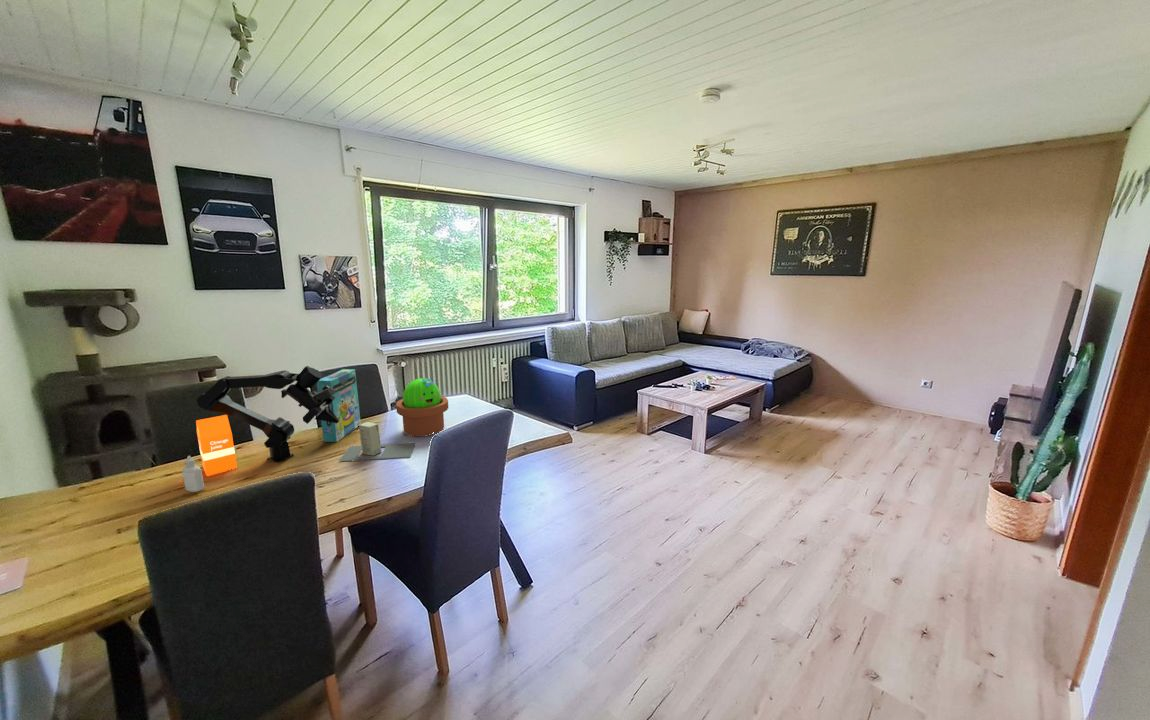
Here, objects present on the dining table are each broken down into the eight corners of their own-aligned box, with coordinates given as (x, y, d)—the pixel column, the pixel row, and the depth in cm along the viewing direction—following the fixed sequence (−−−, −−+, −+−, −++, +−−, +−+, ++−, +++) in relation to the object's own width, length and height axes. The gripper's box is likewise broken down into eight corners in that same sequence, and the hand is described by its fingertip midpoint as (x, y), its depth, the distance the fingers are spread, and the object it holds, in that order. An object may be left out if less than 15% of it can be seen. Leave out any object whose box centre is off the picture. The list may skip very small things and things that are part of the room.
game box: (337, 442, 183) (330, 380, 178) (322, 442, 183) (315, 380, 178) (361, 425, 203) (356, 369, 197) (348, 424, 203) (342, 368, 198)
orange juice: (237, 468, 159) (229, 417, 154) (206, 476, 153) (197, 423, 148) (232, 460, 164) (225, 411, 159) (202, 468, 158) (193, 417, 153)
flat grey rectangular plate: (338, 462, 166) (338, 461, 165) (350, 447, 179) (350, 446, 179) (410, 457, 170) (410, 456, 170) (416, 443, 184) (416, 442, 184)
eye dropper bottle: (188, 495, 141) (181, 460, 138) (185, 489, 144) (178, 455, 142) (205, 490, 144) (199, 456, 141) (202, 484, 148) (195, 451, 145)
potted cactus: (391, 428, 199) (386, 376, 194) (436, 418, 214) (433, 369, 209) (410, 443, 184) (406, 386, 178) (457, 430, 198) (455, 378, 193)
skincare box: (381, 452, 175) (379, 423, 172) (372, 456, 171) (370, 427, 168) (370, 449, 177) (367, 421, 175) (361, 453, 173) (358, 424, 171)
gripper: (308, 388, 155) (344, 415, 160) (327, 375, 173) (359, 400, 178) (287, 410, 156) (323, 436, 160) (308, 394, 174) (340, 419, 178)
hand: (338, 422), depth 169 cm, fingers closed
